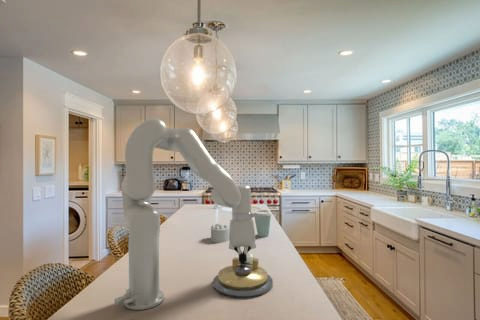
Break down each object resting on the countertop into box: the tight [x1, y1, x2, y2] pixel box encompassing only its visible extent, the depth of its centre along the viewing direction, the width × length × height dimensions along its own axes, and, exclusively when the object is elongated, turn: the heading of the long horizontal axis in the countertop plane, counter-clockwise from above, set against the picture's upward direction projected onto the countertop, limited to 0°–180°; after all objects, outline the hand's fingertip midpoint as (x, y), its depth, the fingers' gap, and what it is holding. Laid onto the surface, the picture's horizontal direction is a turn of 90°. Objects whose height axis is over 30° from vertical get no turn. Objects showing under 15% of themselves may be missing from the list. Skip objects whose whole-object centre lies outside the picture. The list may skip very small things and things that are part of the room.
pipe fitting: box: [242, 253, 258, 265], centre depth 131 cm, size 8×4×7 cm
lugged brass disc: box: [217, 257, 268, 291], centre depth 108 cm, size 18×18×6 cm
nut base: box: [212, 273, 274, 299], centre depth 108 cm, size 22×22×3 cm
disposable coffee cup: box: [253, 209, 272, 238], centre depth 178 cm, size 11×11×15 cm
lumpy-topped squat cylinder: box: [210, 223, 230, 244], centre depth 170 cm, size 10×13×9 cm
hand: (242, 263), depth 115 cm, fingers closed
